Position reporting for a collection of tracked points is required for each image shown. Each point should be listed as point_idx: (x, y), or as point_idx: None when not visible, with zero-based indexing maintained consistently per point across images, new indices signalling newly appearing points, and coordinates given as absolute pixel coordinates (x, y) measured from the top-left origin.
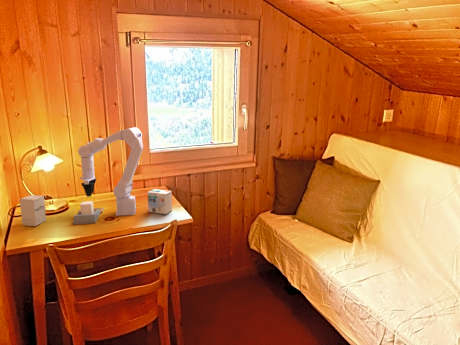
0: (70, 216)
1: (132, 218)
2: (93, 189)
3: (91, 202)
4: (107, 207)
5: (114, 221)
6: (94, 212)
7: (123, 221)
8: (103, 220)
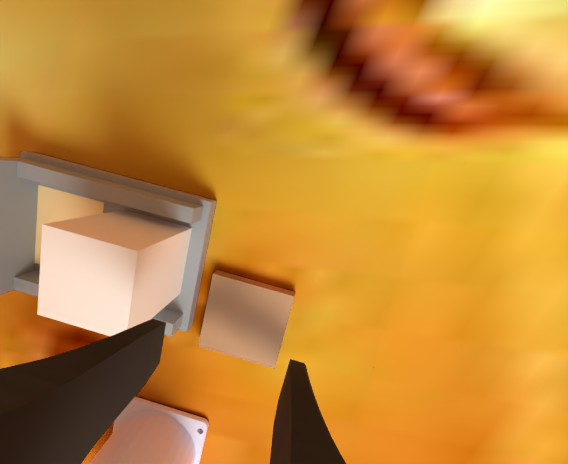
0: (199, 139)
1: None
2: (272, 450)
3: (86, 324)
4: None
5: None
6: (181, 298)
7: None
8: None
